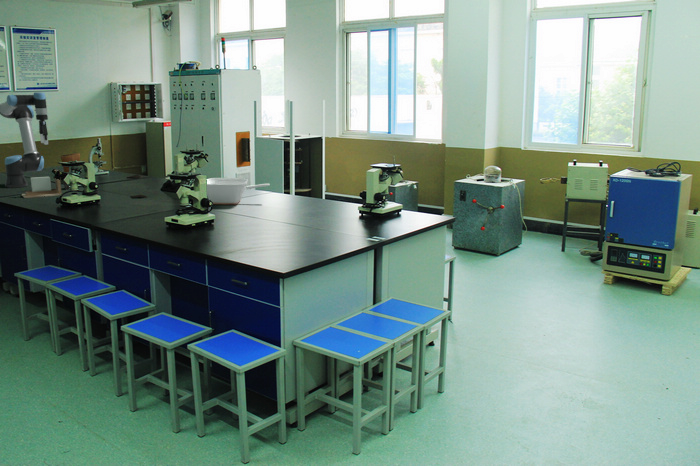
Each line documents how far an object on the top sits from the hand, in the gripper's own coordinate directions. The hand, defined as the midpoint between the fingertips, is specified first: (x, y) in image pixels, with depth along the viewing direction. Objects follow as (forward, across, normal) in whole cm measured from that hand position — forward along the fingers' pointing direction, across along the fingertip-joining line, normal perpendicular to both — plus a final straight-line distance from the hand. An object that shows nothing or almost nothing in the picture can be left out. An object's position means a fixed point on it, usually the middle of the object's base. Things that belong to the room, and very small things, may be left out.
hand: (44, 143), depth 439 cm
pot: (+35, +114, +99) cm, 155 cm away
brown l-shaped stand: (+35, +18, -8) cm, 40 cm away
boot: (+35, -2, +22) cm, 41 cm away
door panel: (+34, +20, -8) cm, 40 cm away
